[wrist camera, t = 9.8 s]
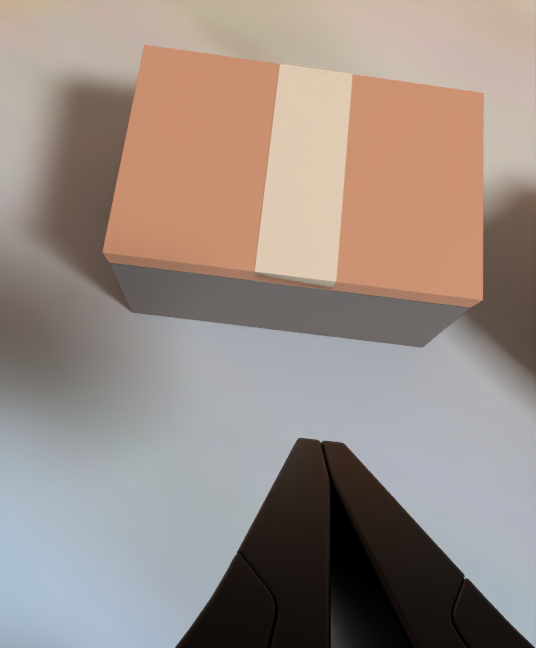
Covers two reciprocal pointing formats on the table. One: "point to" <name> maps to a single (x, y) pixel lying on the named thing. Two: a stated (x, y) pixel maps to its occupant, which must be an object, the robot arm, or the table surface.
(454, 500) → the table surface
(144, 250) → the lid
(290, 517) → the robot arm
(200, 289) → the storage box
